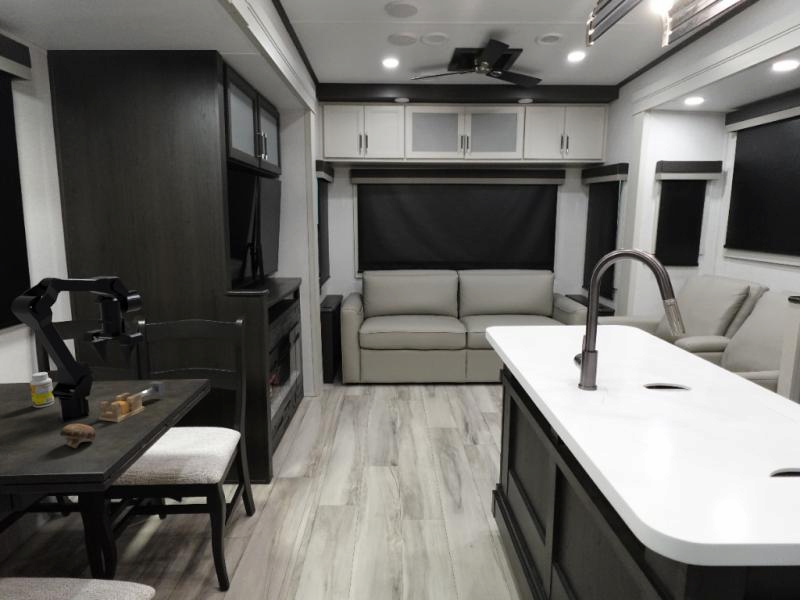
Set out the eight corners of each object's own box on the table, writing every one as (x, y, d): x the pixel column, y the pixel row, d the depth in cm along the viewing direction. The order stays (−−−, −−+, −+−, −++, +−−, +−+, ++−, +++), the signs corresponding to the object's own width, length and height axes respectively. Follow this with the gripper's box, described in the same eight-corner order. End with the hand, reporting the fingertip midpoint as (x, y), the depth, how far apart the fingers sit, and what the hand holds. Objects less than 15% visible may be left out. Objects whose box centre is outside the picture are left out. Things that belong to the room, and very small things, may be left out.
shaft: (137, 405, 153) (136, 393, 152) (127, 404, 154) (125, 392, 154) (165, 393, 164) (164, 381, 163) (155, 392, 165) (154, 380, 164)
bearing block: (118, 422, 145) (116, 405, 144) (99, 419, 147) (97, 403, 146) (145, 409, 154) (143, 394, 153) (126, 407, 156) (125, 391, 155)
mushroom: (63, 444, 123) (71, 418, 126) (50, 448, 127) (57, 424, 130) (97, 449, 128) (103, 425, 131) (83, 453, 133) (90, 430, 136)
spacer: (122, 414, 148) (121, 404, 147) (111, 412, 149) (110, 403, 149) (129, 411, 150) (128, 402, 150) (118, 409, 151) (117, 400, 151)
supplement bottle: (35, 403, 160) (31, 372, 158) (56, 400, 162) (52, 370, 160) (30, 409, 155) (26, 377, 153) (51, 406, 157) (48, 375, 155)
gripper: (154, 312, 165) (158, 358, 167) (109, 309, 170) (113, 354, 172) (126, 318, 154) (131, 368, 156) (80, 315, 159) (85, 363, 162)
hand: (115, 362), depth 162 cm, fingers open, 9 cm apart
